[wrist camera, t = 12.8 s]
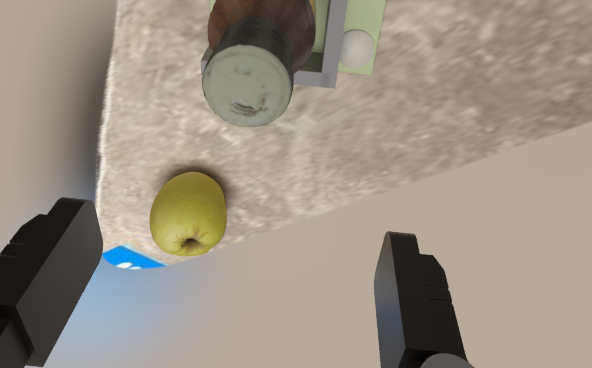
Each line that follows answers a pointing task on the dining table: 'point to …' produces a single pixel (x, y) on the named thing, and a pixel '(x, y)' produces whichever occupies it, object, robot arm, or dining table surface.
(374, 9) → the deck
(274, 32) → the sauce bottle
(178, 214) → the apple
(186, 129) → the dining table surface
